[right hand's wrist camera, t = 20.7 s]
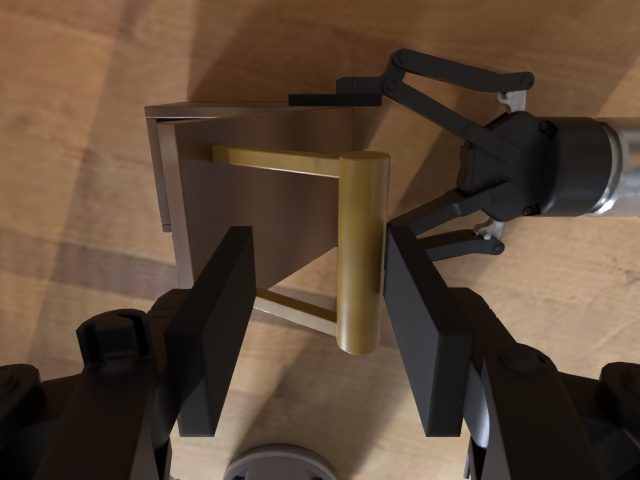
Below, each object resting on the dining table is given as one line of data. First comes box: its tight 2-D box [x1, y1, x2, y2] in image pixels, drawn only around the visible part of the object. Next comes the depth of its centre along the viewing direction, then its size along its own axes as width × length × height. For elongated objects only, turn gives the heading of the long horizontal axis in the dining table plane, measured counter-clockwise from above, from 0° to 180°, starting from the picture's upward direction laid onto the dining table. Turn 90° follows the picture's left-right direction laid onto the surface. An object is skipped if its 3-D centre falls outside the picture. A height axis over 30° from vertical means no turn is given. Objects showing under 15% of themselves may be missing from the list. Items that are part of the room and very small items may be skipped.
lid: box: [157, 107, 390, 355], centre depth 21 cm, size 14×9×9 cm
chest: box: [144, 102, 346, 233], centre depth 33 cm, size 14×9×9 cm, turn 90°
